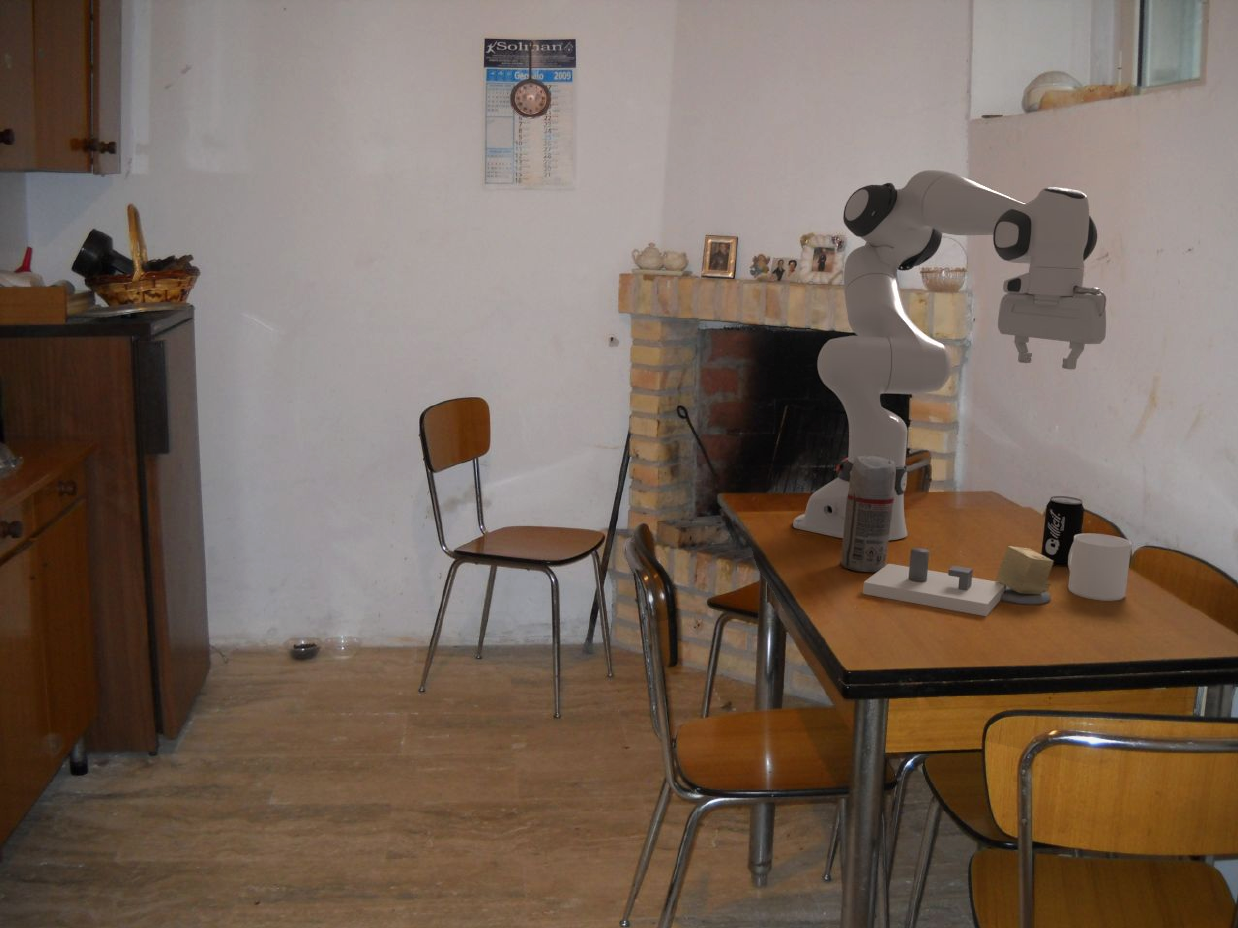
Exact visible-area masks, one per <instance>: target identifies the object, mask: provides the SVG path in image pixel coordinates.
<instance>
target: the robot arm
mask: <svg viewBox="0 0 1238 928" xmlns="http://www.w3.org/2000/svg"><path fill="white" fill-rule="evenodd" d="M842 218H843V223H844V225H845V227H846V228H847V229H848V230H849V231H850V232H851V233H852V234H853V235H854V236H856V237H859V238H860V239H862V240H863V241H864V242H865V244H864V245H862V246H859V247H857V248H854V249H853V250H852V251H851V252H850V253H849V255H848V256H847V258H846V261H845V263H844V269H843V270H844V271H843V291H844V293H843V294H844V299H845V306H846V313H847V321H848V324H849V327H850V328H851V330H852V331H853V333H854V334H855V335H849V336H839V337H837V338H835V337H834V338H831V339H829V340H827V342H826V343H824V344H823V346H822V347H821V349H820V351H819V354H818V356H817V367H816V368H817V371H818V375H819V377H820V380H821V381H822V383H823V384H824V386H826V387H827V388H828V389H829V390H831V391H832V392H833V393H834V394H835V395H836V397H837V398H838V399H839V401H840V402H841V404H842V406H843V409H844V410H845V413H846V415H847V421H848V432H849V433H848V436H849V437H848V457H846V458H844V459H843V460H841V462H839V463H838V465H836V466H835V467H836V468H835V471H836V472H837V476H838V477H836V478H834V479H833V480H832V481H830V482H829V483H827V484H825V485H824V486H822V487H820V488H819V489H818V490H816V491H815V492H813V494H811V495H810V497H809V499H808V501H807V503H806V508H805V512H804V513H802V514H800V515H798V516H797V517H795V518H794V519H793V521H792V522H793V523H792V526H793V528H795V529H798V530H802V531H807V532H810V533H811V532H812V533H817V534H819V535H820V534H821V535H825V536H830V537H835V538H839V539H843V532H844V523H845V511H846V501H847V496H848V492H849V484H850V476H851V471H852V467H853V463H854V460H855V457H858V456H859V457H861V456H869V455H874V454H875V455H879V456H882V457H884V458H885V459H886V460H892V461H894V462H895V464H896V475H895V486H894V502H893V509H892V520H891V525H890V533H889V541H894V540H901V539H904V538H906V537H907V536H908V530H907V526H906V519H905V510H904V509H905V507H904V506H905V503H904V494H905V491H906V487H907V480H908V472H907V471H908V470H907V469H908V465H907V464H906V457H907V445H908V444H907V442H908V433H909V431H908V427H907V425H906V423H905V421H904V420H903V419H902V417H900V416H899V415H897V414H896V413H894V412H892V411H890V410H889V409H886V408H884V407H883V406H882V403H881V395H882V394H900V395H920V394H927V393H933V392H937V391H940V390H941V389H942V388H943V387H944V386H945V385H946V383H947V382H948V380H949V378H950V376H951V372H952V359H951V355H950V353H949V351H948V349H947V348H946V346H945V345H944V344H943V343H942V342H939V341H937V340H935V339H933V338H931V336H929V335H927V334H926V333H924V332H923V331H922V330H921V329H920V328H919V327H917V325H916V324H915V323H914V322H913V321H912V319H911V318H910V317H909V315H908V313H907V312H906V311H907V310H906V308H905V306H904V301H903V297H902V293H901V289H900V282H899V279H898V271H902V272H903V271H909V270H912V269H913V268H914V267H918V266H920V265H922V264H923V263H925V262H927V261H929V260H930V259H931V258H933V257H934V255H936V253H937V252H938V250H939V249H940V246H941V244H942V243H941V242H942V238H943V234H948V235H951V236H952V235H954V236H992V238H993V241H992V242H993V245H994V249H995V252H996V254H997V255H998V256H999V258H1000V259H1002V260H1003V261H1007V262H1009V263H1014V264H1029V267H1028V272H1026V273H1023V274H1020V275H1017V276H1015V277H1012V278H1009V279H1006V280H1004V281H1003V284H1002V286H1003V287H1002V288H1003V289H1002V291H1003V292H1004V293H1006V294H1004V295H1003V296H1002V298H1001V300H1000V303H999V305H1000V306H999V311H998V315H997V316H998V319H997V329H998V331H999V332H1000V334H1001V335H1008V336H1014V341H1013V342H1014V345H1015V347H1016V350H1017V353H1018V356H1017V357H1018V359H1017V362H1018V363H1021V364H1030V363H1032V357H1033V353H1032V352H1029V349H1028V346H1027V343H1029V342H1030V338H1033V339H1040V340H1050V341H1059V342H1067V343H1069V346H1068V348H1069V349H1070V350H1071V351H1070V352H1069V354H1068V356H1067V357H1063V358H1062V364H1061V368H1062V369H1063V370H1075V369H1076V368H1077V361H1078V359H1079V358H1080V356H1081V354H1082V353H1083V352H1084V350H1085V346H1086V345H1101V344H1102V342H1103V341H1104V340H1105V339H1106V333H1107V331H1106V330H1107V313H1106V311H1107V310H1106V306H1107V296H1106V295H1105V293H1104V292H1103V291H1101V289H1100V288H1098V287H1088V286H1087V287H1085V286H1083V284H1084V275H1085V274H1084V273H1085V261H1086V260H1087V259H1088V258H1089V257H1090V256H1091V254H1092V253H1093V251H1094V249H1095V247H1096V245H1097V241H1098V230H1097V226H1096V223H1095V222H1094V220H1093V218H1092V217H1091V215H1090V205H1089V199H1088V197H1087V194H1085V192H1082V191H1081V190H1078V189H1075V188H1066V187H1060V186H1048V187H1045V188H1042V189H1041V190H1040V191H1039V193H1038V194H1037V195H1036V197H1035V198H1033V199H1032V200H1030V201H1029V202H1025V201H1024V202H1023V201H1020V200H1017V199H1015V198H1012V197H1010V196H1008V195H1006V194H1003V193H1001V192H998V191H996V190H993V189H991V188H989V187H986V186H984V185H982V184H981V183H980V184H979V183H977V182H975V181H973V180H971V179H969V178H967V177H964V176H961V175H959V174H956V173H952V172H949V171H943V170H937V169H936V170H930V169H929V170H923V171H919V172H917V173H916V174H914V175H913V176H911V178H910V179H909V180H908V181H907V183H906V184H905V186H904V187H902V188H896V186H895V185H894V184H893V183H891V182H886V183H883V184H868V185H865V186H862V187H860V188H858V189H857V190H855V191H854V192H853V193H852V194H851V195H850V196H849V198H848V200H847V202H846V204H845V205H844V210H843V216H842Z"/></svg>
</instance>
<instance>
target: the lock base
mask: <svg viewBox="0 0 1238 928" xmlns="http://www.w3.org/2000/svg"><path fill="white" fill-rule="evenodd" d="M929 560H930V550H928V549H926V548H916V547H915V548H911V549H910V556H909V566H907V565H899V564H893V563H888V564H885V567H884V568H882V569H881V570H879V571H878V572H874V574H873V575H871V576H870V577H869V578H867V579H866V580H865V581H863V588H862V595H866V596H873V597H879V598H884V599H890V600H894V601H901V602H905V603H911V604H916V605H923V606H927V607H933V608H939V609H945V610H949V611H955V612H960V613H965V614H971V615H977V616H982V617H988V615H989V614H990V613H991V612H992V611H993V609H994V608H995V607H996V606H997V605H998V603H1000V601H1002V600H1001V596H1002V595H1003V594H1004V592H1005V591H1006V585H1004V584H1002V583H1001V582H999V581H997V580H994V581H993V580H988V579H983V578H977V577H973V572H974V569H973V568H969V567H964V566H957V565H952V566H951V567H950V568H949V569H948V573H947V572H941V571H935V570H929Z"/></svg>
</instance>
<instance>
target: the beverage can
mask: <svg viewBox="0 0 1238 928" xmlns="http://www.w3.org/2000/svg"><path fill="white" fill-rule="evenodd" d="M1083 502H1084V501H1083V500H1082V498H1078V497H1074V496H1069V495H1068V496H1066V495H1053V496H1050V497H1049V501H1048V502H1047V504H1046V507H1045V517H1044V526H1043V533H1042V544H1041V553H1040V554H1041V555H1043V556H1045V557H1047V558H1049V559H1051V560H1053V561H1054V562H1053V565H1052V566H1058V567H1059V566H1060V567H1069V566H1068V556H1069V552H1070V548H1071V546H1072V543H1073V542H1074V536H1075V535H1077V534H1083V533H1082V532H1083V525H1084V517H1085V508H1084V506H1083Z"/></svg>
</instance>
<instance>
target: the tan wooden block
mask: <svg viewBox="0 0 1238 928" xmlns="http://www.w3.org/2000/svg"><path fill="white" fill-rule="evenodd" d="M1053 562H1054V561H1053V560H1051V559H1049V558H1047V557H1045V556H1043V555H1041V553H1039V552H1037V551H1035V550H1033V549H1031V548H1029V547H1019V546H1011V545H1007V547H1006V550H1005V553H1004V556H1003V558H1002V561H1001V563H1000V566H999V569H998V572H997V575H996V577H995V581H996V582H1001V583H1002V584H1004V585H1006V586H1008V587H1010V588H1011V589H1013V590H1015V591H1017V592H1019V593H1024V594H1037V595H1041V594H1042V591H1043V590H1044V591H1049V590H1050V589H1051V588H1050V587H1051V585H1052V584H1051V583H1050V582H1049V581H1047V580H1048V577H1049V575H1050V573H1051V569H1052V567H1053V566H1054V565H1053Z"/></svg>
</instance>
